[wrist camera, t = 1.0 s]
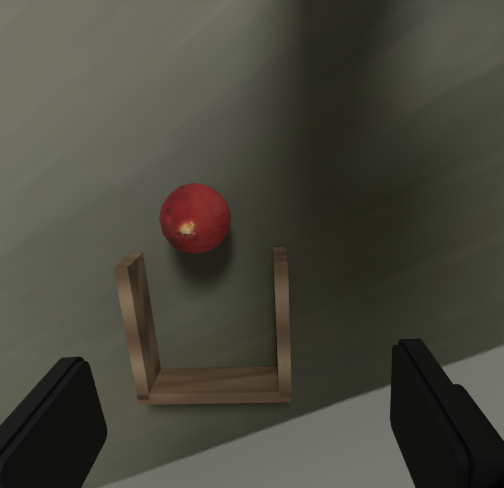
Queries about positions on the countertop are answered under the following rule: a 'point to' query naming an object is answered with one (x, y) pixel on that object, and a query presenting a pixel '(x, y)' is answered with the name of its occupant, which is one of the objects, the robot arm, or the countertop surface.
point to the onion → (195, 218)
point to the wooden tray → (200, 379)
